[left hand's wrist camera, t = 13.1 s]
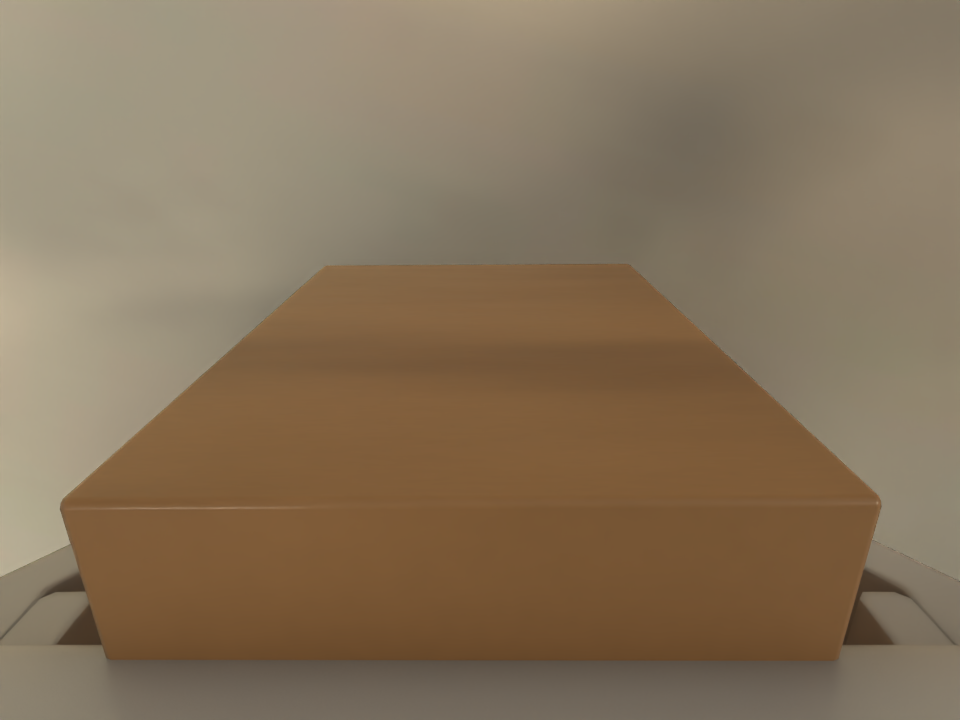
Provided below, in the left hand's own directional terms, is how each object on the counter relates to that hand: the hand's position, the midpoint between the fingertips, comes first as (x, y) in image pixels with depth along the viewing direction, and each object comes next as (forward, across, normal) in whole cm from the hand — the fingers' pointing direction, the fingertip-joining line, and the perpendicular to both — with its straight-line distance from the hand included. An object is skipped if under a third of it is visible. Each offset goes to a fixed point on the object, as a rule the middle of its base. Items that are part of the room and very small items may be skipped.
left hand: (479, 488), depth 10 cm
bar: (+3, 0, -8) cm, 9 cm away
